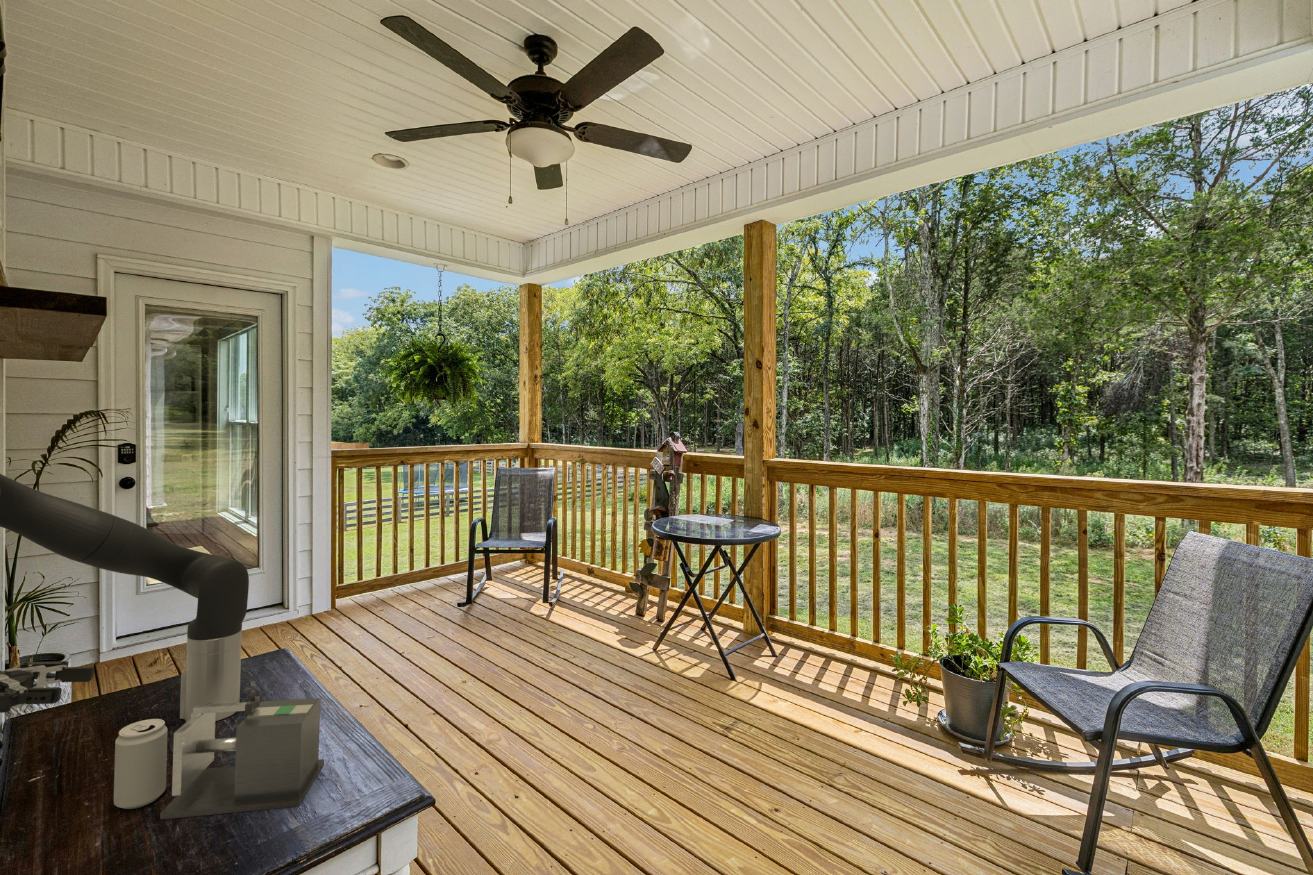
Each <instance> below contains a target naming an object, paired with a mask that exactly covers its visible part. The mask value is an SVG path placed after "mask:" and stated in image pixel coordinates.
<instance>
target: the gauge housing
mask: <svg viewBox="0 0 1313 875" xmlns="http://www.w3.org/2000/svg"><path fill="white" fill-rule="evenodd" d="M321 701H322V700H321V697H320V698H318V697H317V698H316V697H314V698H302V699H301V698H299V699H286V700H285V699H284V700H266V701H265V700H263V701H260V705H259V707H258V708H257V709H256V710H255V711H254V712H253V713H252V714H247V715H246V717H245V718H244V719H243V720H241V722H240V723H239V724H237V726H236V731H235V732H236V733H235V734H236V735H235V738H236V751H235V761H234V762H235V763H234V765H233V766H231V765H230V766H222V767H207V768H206V769H205V770H204V771H203V772H202V773H201V774H200V775H199V776H198V777H197V778H196V779H195V780H194V781H193V783H192V784H191V785H190V786H189V787H188V788H187V789H186V790H185V791H184V792H183V793H182V794H181V795H176V796H174V798H173V799H172V800H171V801H170V802H169V804H167V806H166V807H164V809H163V810H162V811H161V812H160V814H159V816H160V817H159V820H160V821H161V820H170V819H179V818H180V819H181V818H190V817H192V818H193V817H201V816H202V817H203V816H211V815H212V816H213V815H222V814H232V813H233V814H234V813H244V812H253V811H254V812H255V811H266V810H273V809H274V810H275V809H287V808H295V807H297V808H298V807H300V805H301V804H302V802H303V800H304V799H305V797H306V795H307V794H308V792H309V791H310V789H311V788H312V785H313V783H314V782H315V780H316V778H317V777H318V775H319V774H320V772H321V770H322V769H323V767H324V765H325V759H324V758H322V759H319V751H320V723H321Z"/></svg>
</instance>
